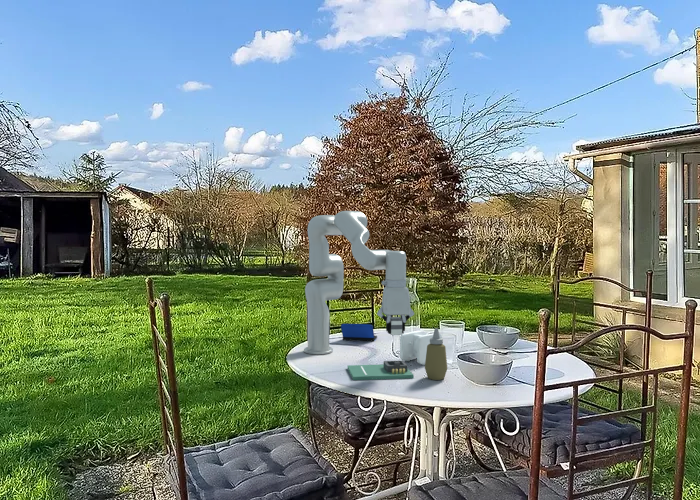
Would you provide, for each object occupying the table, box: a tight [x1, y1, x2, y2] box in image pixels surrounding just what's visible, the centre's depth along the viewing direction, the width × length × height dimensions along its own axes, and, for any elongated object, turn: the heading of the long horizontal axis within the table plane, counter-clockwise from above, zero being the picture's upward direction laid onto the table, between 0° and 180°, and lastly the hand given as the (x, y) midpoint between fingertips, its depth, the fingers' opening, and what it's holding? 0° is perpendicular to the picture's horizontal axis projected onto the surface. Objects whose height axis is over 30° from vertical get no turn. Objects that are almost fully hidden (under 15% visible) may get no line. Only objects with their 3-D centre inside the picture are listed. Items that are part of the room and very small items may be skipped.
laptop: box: [340, 323, 378, 343], centre depth 261 cm, size 16×13×9 cm
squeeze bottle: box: [424, 328, 448, 381], centre depth 194 cm, size 8×8×18 cm
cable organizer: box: [399, 330, 443, 366], centre depth 219 cm, size 15×11×12 cm
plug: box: [390, 316, 402, 336], centre depth 200 cm, size 4×4×6 cm
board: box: [347, 359, 415, 381], centre depth 200 cm, size 16×22×5 cm
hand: (395, 332), depth 201 cm, fingers closed on plug, 4 cm apart
